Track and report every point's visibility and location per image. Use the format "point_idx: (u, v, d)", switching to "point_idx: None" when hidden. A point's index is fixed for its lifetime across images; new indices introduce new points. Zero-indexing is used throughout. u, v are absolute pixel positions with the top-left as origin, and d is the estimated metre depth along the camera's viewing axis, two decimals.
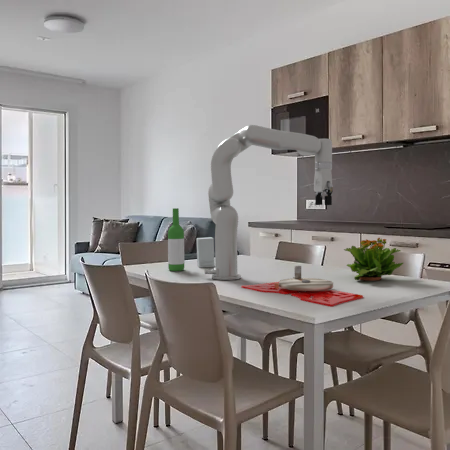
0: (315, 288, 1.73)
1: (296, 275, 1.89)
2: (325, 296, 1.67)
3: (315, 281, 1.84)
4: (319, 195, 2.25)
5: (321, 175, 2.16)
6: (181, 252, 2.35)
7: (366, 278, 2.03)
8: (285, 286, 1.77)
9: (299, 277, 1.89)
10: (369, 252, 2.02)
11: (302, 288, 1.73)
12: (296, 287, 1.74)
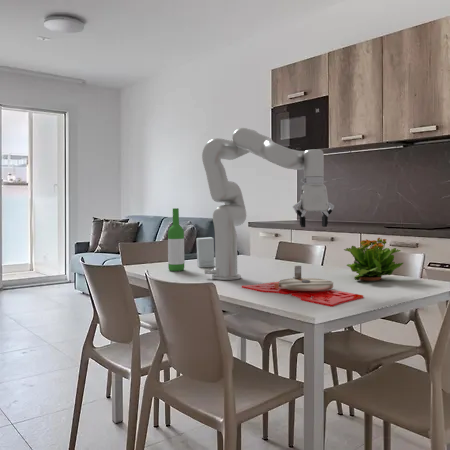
0: (315, 288, 1.73)
1: (296, 275, 1.89)
2: (325, 296, 1.67)
3: (315, 281, 1.84)
4: None
5: (324, 192, 1.88)
6: (181, 252, 2.35)
7: (366, 278, 2.03)
8: (285, 286, 1.77)
9: (299, 277, 1.89)
10: (369, 252, 2.02)
11: (302, 288, 1.73)
12: (296, 287, 1.74)
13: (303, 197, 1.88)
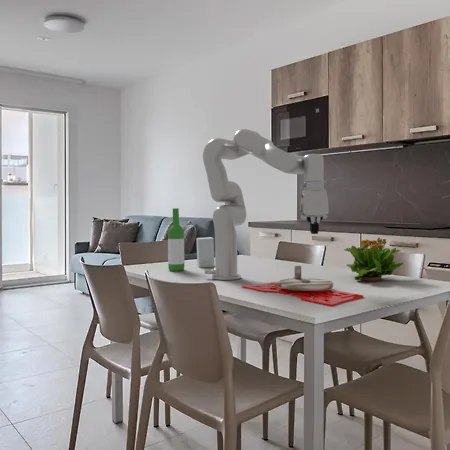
0: (315, 288, 1.73)
1: (296, 275, 1.89)
2: (325, 296, 1.67)
3: (315, 281, 1.84)
4: None
5: (325, 196, 1.88)
6: (181, 252, 2.35)
7: (366, 278, 2.03)
8: (285, 286, 1.77)
9: (299, 277, 1.89)
10: (369, 252, 2.02)
11: (302, 288, 1.73)
12: (296, 287, 1.74)
13: (303, 202, 1.87)
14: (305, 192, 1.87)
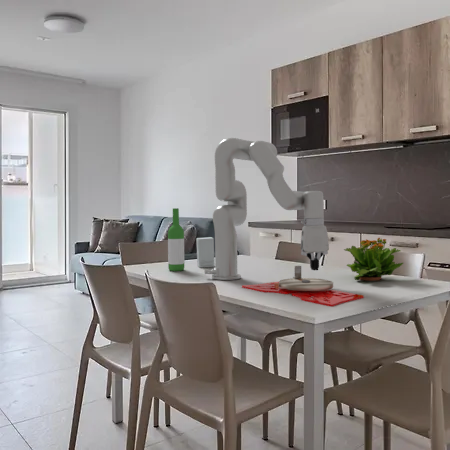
0: (315, 288, 1.73)
1: (296, 275, 1.89)
2: (326, 296, 1.68)
3: (315, 281, 1.84)
4: None
5: (325, 233, 1.89)
6: (181, 252, 2.35)
7: (366, 278, 2.03)
8: (285, 286, 1.77)
9: (299, 277, 1.89)
10: (369, 252, 2.02)
11: (302, 288, 1.73)
12: (296, 287, 1.74)
13: (303, 239, 1.88)
14: (305, 229, 1.88)
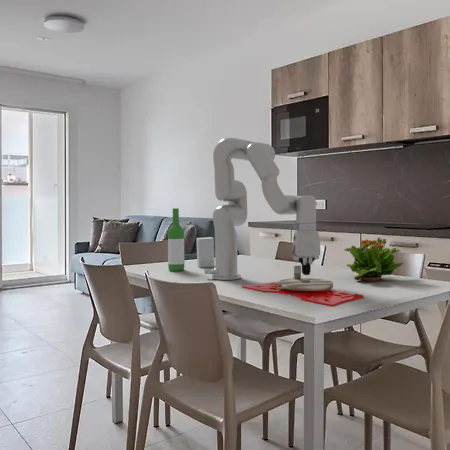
0: (316, 288, 1.73)
1: (296, 275, 1.89)
2: (326, 296, 1.68)
3: (315, 281, 1.84)
4: None
5: (317, 238, 1.89)
6: (181, 252, 2.35)
7: (366, 278, 2.03)
8: (285, 286, 1.77)
9: (299, 277, 1.89)
10: (369, 252, 2.02)
11: (303, 288, 1.73)
12: (297, 287, 1.74)
13: (296, 243, 1.88)
14: (298, 234, 1.87)
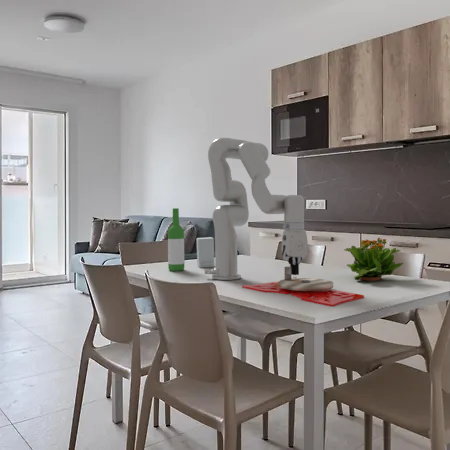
0: (328, 286, 1.76)
1: (288, 276, 1.87)
2: (326, 296, 1.68)
3: (310, 280, 1.86)
4: None
5: (305, 237, 1.89)
6: (181, 252, 2.35)
7: (366, 278, 2.03)
8: (300, 288, 1.73)
9: (290, 278, 1.87)
10: (369, 252, 2.02)
11: (319, 288, 1.73)
12: (313, 287, 1.73)
13: (287, 243, 1.85)
14: (289, 234, 1.85)
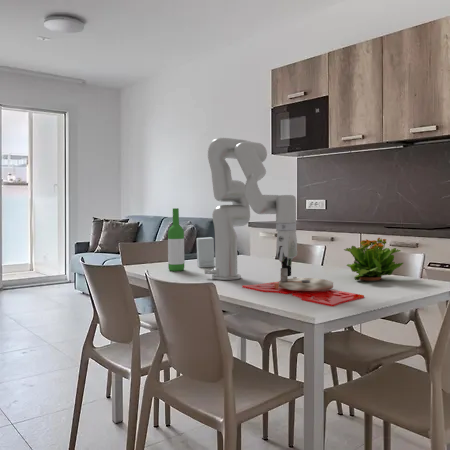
0: None
1: (286, 278, 1.83)
2: (326, 296, 1.68)
3: None
4: None
5: (296, 238, 1.88)
6: (181, 252, 2.35)
7: (366, 278, 2.03)
8: (316, 288, 1.73)
9: None
10: (369, 252, 2.02)
11: (330, 286, 1.76)
12: (327, 286, 1.75)
13: (285, 244, 1.81)
14: (286, 234, 1.82)
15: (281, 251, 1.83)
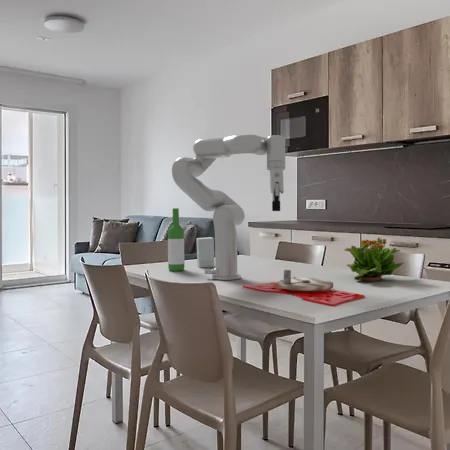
0: None
1: (290, 279, 1.79)
2: (327, 296, 1.68)
3: (298, 280, 1.86)
4: None
5: None
6: (181, 252, 2.35)
7: (366, 278, 2.03)
8: (329, 286, 1.76)
9: None
10: (369, 252, 2.02)
11: None
12: None
13: (281, 180, 1.96)
14: (281, 171, 1.97)
15: (276, 187, 1.97)
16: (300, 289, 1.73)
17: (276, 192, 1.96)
